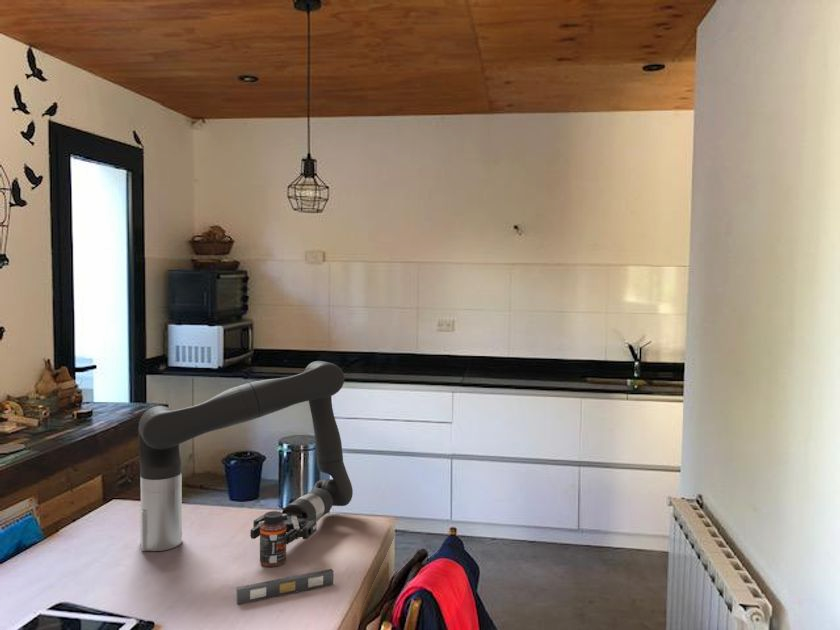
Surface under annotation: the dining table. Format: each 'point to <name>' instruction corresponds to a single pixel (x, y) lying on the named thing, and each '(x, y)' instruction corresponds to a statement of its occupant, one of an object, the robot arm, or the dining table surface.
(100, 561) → the dining table surface
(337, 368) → the robot arm
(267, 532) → the supplement bottle
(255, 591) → the rail
